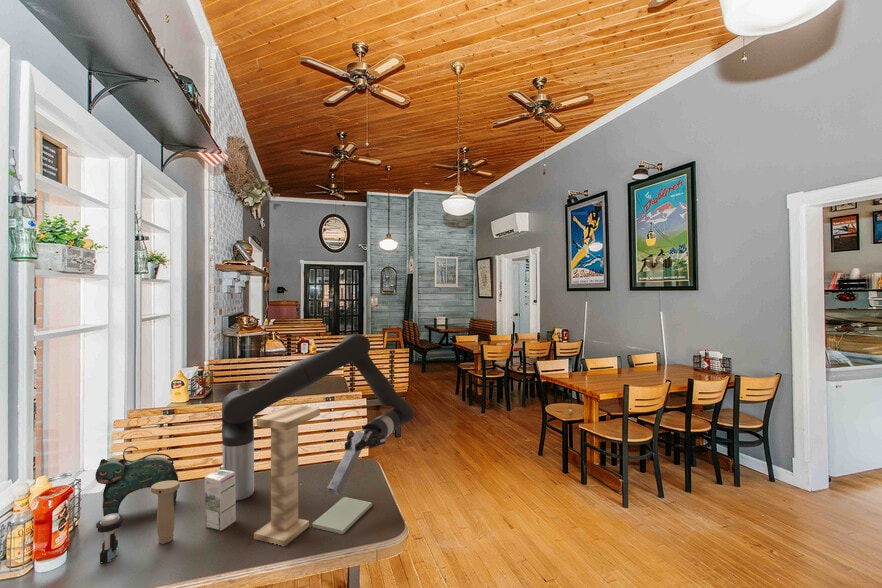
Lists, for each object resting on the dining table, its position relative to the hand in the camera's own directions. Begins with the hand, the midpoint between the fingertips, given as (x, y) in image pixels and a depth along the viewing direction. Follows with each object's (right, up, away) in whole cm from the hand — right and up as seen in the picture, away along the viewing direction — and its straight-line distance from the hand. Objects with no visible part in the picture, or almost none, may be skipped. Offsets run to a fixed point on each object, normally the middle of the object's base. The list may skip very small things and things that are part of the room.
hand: (351, 447), depth 127 cm
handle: (-46, -19, -16) cm, 52 cm away
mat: (-2, -19, -4) cm, 19 cm away
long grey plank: (0, -5, 0) cm, 5 cm away
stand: (-16, -19, -10) cm, 27 cm away
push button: (-55, -19, -22) cm, 63 cm away
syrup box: (-35, -19, -8) cm, 41 cm away
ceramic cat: (-64, -19, -1) cm, 66 cm away
